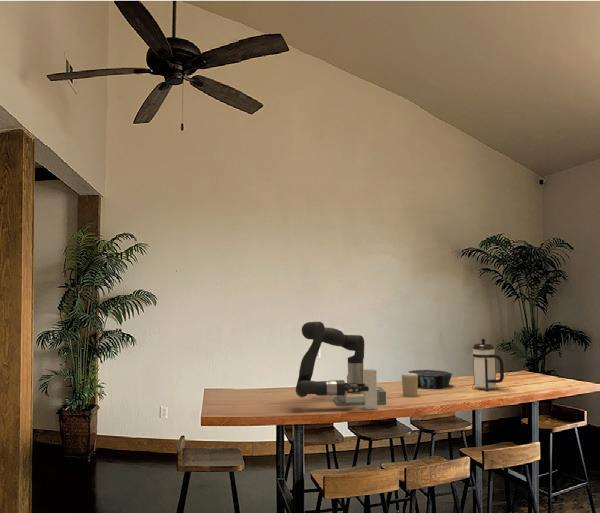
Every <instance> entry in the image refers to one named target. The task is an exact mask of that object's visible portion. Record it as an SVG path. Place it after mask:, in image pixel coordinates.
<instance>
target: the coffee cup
mask: <svg viewBox="0 0 600 513" xmlns="http://www.w3.org/2000/svg"><path fill="white" fill-rule="evenodd" d="M400 376H401V385H402V395H403V397H407V398H416V397H418V388H419V387H418V374H415V373H409V372H405V373H403V372H402V373H401V375H400Z"/></svg>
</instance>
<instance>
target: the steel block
mask: <svg viewBox="0 0 600 513" xmlns="http://www.w3.org/2000/svg"><path fill="white" fill-rule="evenodd" d="M377 378H378V377H377V370H376V369H374V368H373V369H363V387H369V391H363V393H362V394H363V395H362V396H363V400H364V405H363V409H364V410H377V409H378V405H377V387H378V386H377V385H378V384H377V382H378V380H377Z"/></svg>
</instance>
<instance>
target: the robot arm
mask: <svg viewBox="0 0 600 513" xmlns="http://www.w3.org/2000/svg"><path fill="white" fill-rule="evenodd" d="M301 334H302V336H303V337H304V339H306V340H312V342H311V345H310V346H309V348H308V350H307V351H306V352H305V354H304V355H303V357H302V359H301V361H300V366H299V372H298V378H297V383H296V386H295V393H296V395H297V396H298V397H299V398H305V397H307V396H308V395H316V396H330V397H331V396H332V397H337V396H344V395H345V391H346V392H347V393H349V394H363V391H369V387H363V370H364V358H365V339H364V337H363V336H362V335H360V334H359V335H358V334H357V335H356V334H344V332H343V331H341V330H339V329H337V328H334V327H326V326H325V325H324V323H323V322H321V321H308V322H305V323H304V324H303V325H302V326H301ZM322 343H324V344H328V345H331V346H335V347H341V348H343V349H345V350H347V351H349V352H351V351H353V352H354V354H353V355H352V356H349V357H347V375H346V382H345V380H343V379H339V380H337V379H336V380H335V379H334V380H333V379H332V380H323V381H322V380H321V381H320V380H319V381H315V380H312V377H313V374H314V369H315V364H316V359H317V357H318V353H319V351H320V349H321V346H322Z"/></svg>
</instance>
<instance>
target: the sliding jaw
mask: <svg viewBox="0 0 600 513" xmlns="http://www.w3.org/2000/svg"><path fill="white" fill-rule="evenodd" d="M336 397H337V398H338V399H339V401H340V402H346V397H347V391H345V395H344V396H336Z"/></svg>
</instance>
